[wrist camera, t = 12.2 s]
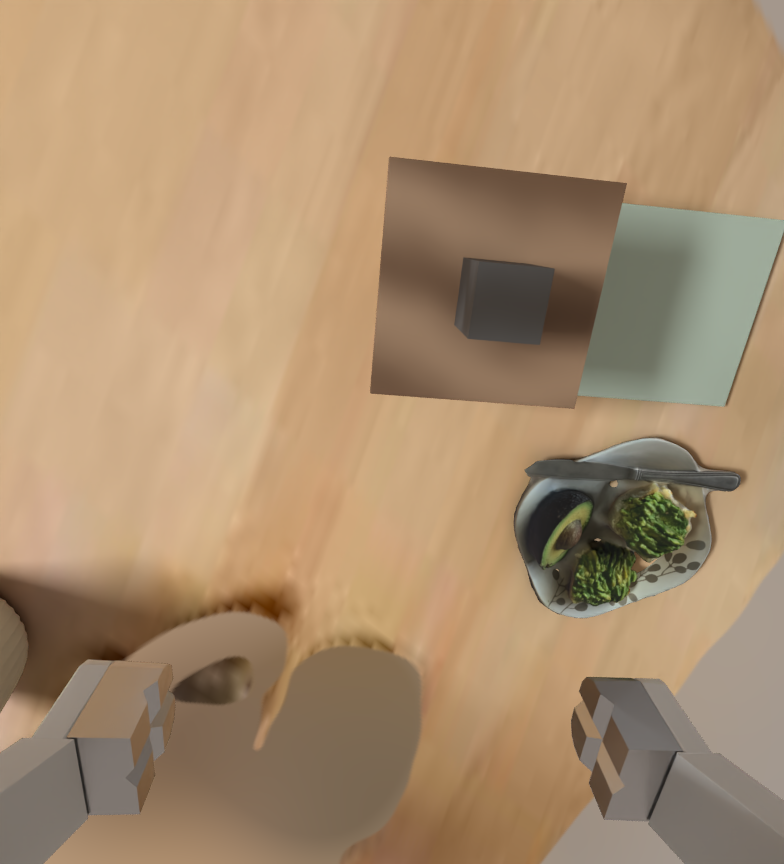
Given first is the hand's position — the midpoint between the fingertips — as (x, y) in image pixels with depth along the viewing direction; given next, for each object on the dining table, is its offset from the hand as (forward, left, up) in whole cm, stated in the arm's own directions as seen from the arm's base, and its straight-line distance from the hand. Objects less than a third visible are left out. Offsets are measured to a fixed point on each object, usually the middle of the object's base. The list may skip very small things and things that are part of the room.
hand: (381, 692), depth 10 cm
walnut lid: (-6, +6, -21) cm, 23 cm away
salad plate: (+14, +22, -32) cm, 41 cm away
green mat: (-5, +22, -31) cm, 38 cm away
